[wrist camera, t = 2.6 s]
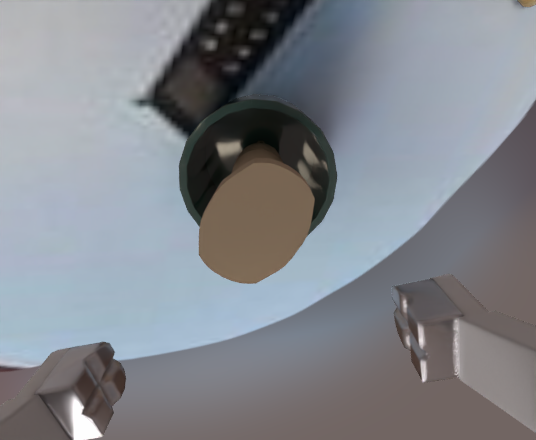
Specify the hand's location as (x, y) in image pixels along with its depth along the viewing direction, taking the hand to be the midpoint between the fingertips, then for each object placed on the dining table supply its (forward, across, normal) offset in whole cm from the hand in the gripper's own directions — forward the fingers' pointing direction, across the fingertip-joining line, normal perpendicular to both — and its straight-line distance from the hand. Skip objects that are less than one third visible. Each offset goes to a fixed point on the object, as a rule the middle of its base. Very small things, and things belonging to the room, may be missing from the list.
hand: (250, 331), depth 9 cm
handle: (+22, 0, 0) cm, 22 cm away
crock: (+22, 0, 0) cm, 22 cm away
